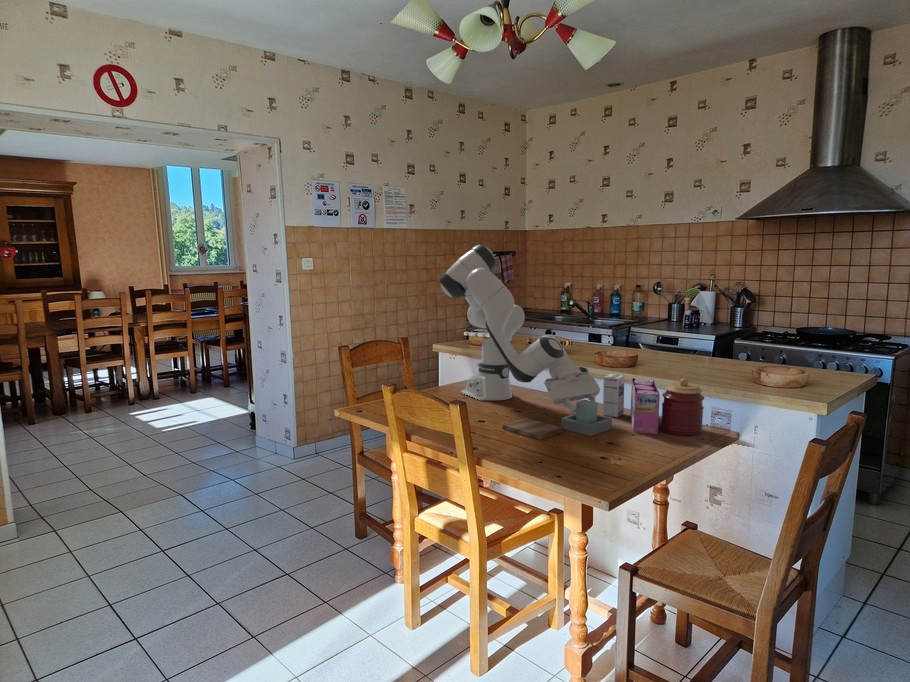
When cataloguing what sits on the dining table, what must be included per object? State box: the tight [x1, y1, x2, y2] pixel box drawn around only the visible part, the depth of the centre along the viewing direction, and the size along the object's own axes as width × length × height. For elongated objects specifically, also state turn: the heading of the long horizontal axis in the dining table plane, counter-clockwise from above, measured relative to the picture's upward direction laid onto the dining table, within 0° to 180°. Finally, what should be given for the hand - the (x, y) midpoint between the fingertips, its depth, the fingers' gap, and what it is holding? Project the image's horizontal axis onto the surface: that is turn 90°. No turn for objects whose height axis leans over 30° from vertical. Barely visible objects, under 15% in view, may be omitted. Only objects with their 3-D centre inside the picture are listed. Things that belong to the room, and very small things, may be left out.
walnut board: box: [502, 417, 564, 441], centre depth 194 cm, size 16×12×2 cm
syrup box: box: [602, 373, 625, 418], centre depth 211 cm, size 6×6×14 cm
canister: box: [660, 378, 705, 436], centre depth 192 cm, size 13×13×18 cm
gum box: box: [630, 378, 661, 435], centre depth 201 cm, size 24×8×14 cm, turn 166°
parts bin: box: [560, 413, 613, 437], centre depth 196 cm, size 12×12×4 cm
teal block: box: [575, 399, 599, 425], centre depth 196 cm, size 5×5×9 cm
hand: (584, 409), depth 196 cm, fingers open, 8 cm apart
